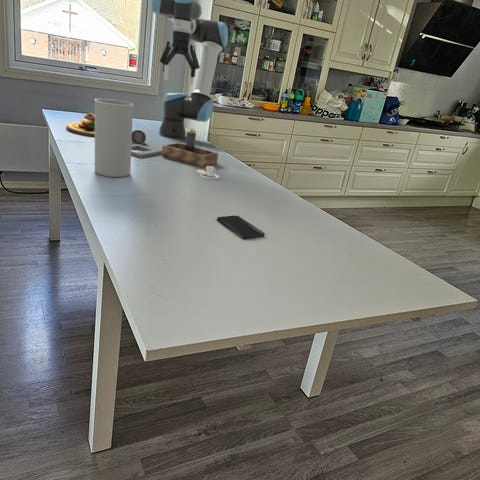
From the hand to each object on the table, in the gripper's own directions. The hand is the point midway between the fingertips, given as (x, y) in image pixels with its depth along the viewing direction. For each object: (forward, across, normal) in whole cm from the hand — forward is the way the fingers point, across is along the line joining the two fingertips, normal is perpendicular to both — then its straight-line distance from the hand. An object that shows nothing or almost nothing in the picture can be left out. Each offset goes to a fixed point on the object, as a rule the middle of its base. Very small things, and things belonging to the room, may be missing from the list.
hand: (178, 82), depth 189 cm
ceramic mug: (+31, -16, -9) cm, 36 cm away
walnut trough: (+31, +18, -13) cm, 38 cm away
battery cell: (+30, +18, -13) cm, 37 cm away
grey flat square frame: (+30, -3, -22) cm, 38 cm away
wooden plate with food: (+32, -44, -4) cm, 54 cm away
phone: (+30, +72, -69) cm, 104 cm away
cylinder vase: (+30, +13, -57) cm, 65 cm away
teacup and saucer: (+31, +35, -25) cm, 53 cm away
